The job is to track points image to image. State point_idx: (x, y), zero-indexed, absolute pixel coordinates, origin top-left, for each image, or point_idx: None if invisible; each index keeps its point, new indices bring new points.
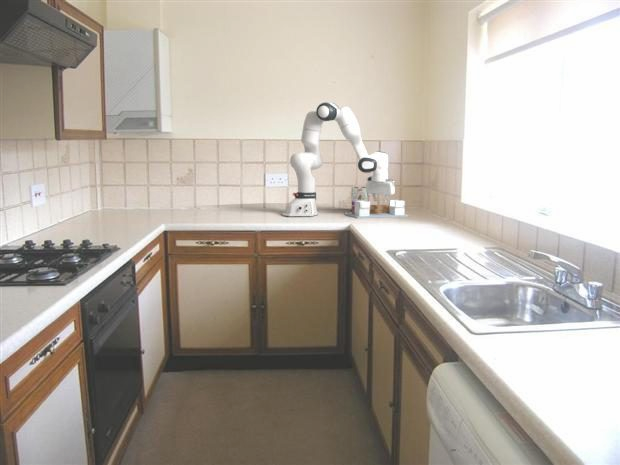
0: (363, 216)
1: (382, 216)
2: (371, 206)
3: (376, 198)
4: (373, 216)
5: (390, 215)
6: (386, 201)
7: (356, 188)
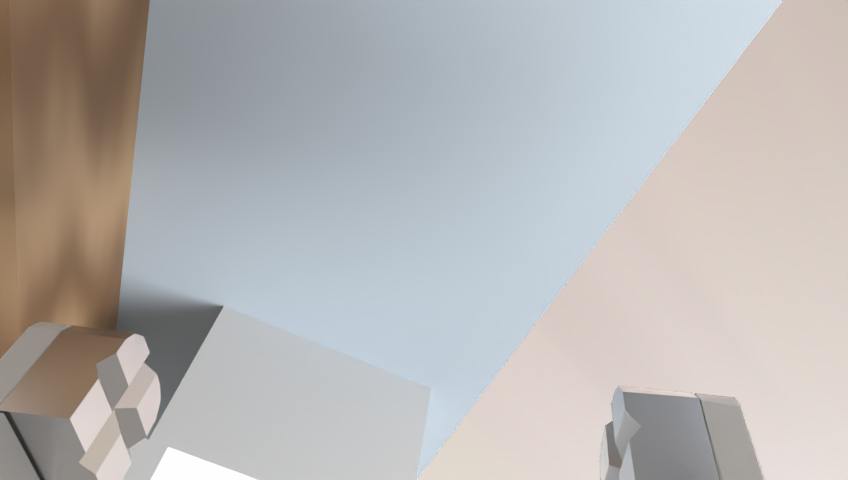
0: (418, 476)
1: (607, 220)
2: (28, 173)
3: (85, 425)
4: (502, 364)
5: (738, 24)
6: (730, 423)
7: None
